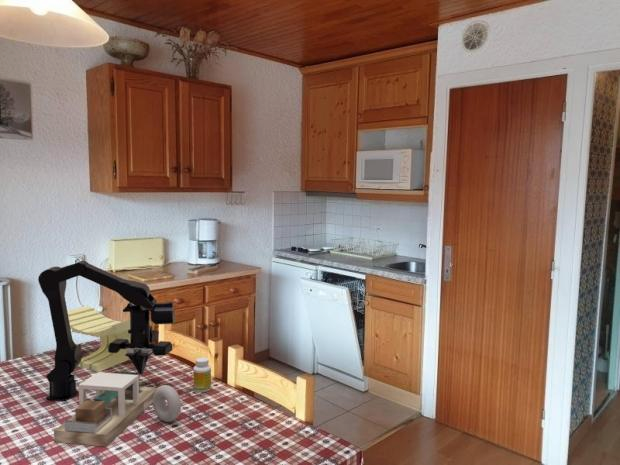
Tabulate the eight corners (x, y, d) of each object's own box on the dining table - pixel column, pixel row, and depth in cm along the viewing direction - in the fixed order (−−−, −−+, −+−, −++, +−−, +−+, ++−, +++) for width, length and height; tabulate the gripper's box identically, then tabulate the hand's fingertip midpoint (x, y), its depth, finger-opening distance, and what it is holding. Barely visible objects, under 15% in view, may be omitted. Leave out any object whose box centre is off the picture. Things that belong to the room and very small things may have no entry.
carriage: (64, 430, 123) (63, 408, 122) (117, 389, 147) (116, 371, 147) (94, 432, 121) (94, 410, 121) (142, 391, 146) (142, 372, 146)
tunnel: (79, 413, 132) (78, 384, 132) (98, 399, 141) (97, 372, 140) (122, 416, 131) (122, 387, 130) (139, 402, 139) (138, 375, 139)
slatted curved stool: (151, 361, 181) (150, 313, 179) (116, 376, 166) (115, 324, 165) (93, 348, 194) (92, 304, 192) (57, 361, 180) (55, 313, 178)
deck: (54, 441, 123) (53, 430, 123) (115, 394, 152) (115, 384, 152) (106, 446, 121) (106, 434, 121) (158, 397, 150) (158, 387, 150)
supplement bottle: (206, 393, 153) (206, 363, 152) (190, 391, 154) (190, 361, 153) (213, 386, 158) (213, 357, 158) (198, 385, 160) (197, 356, 159)
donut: (184, 423, 133) (183, 388, 133) (174, 428, 131) (173, 392, 130) (160, 413, 139) (159, 379, 138) (150, 418, 136) (149, 383, 135)
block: (75, 427, 125) (75, 408, 124) (87, 418, 129) (86, 400, 129) (94, 429, 124) (93, 409, 123) (105, 419, 129) (104, 401, 128)
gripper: (179, 319, 158) (180, 366, 160) (125, 316, 161) (126, 363, 162) (164, 329, 147) (165, 379, 149) (106, 326, 150) (107, 375, 151)
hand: (141, 373), depth 153 cm, fingers closed
